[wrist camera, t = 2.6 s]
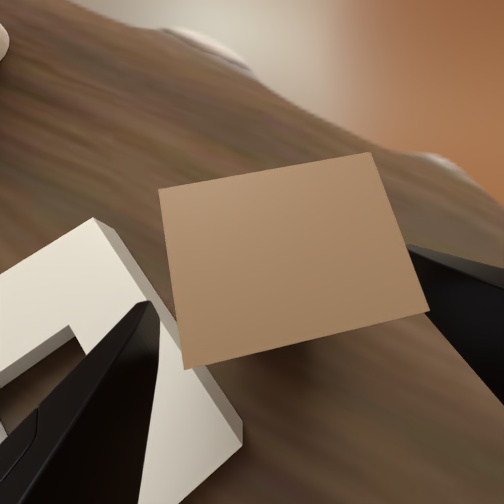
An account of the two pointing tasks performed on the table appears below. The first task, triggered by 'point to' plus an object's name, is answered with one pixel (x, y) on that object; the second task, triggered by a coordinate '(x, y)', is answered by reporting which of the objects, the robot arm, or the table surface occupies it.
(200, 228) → the tan topped cream pillar
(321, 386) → the table surface
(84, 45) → the table surface
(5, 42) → the cup
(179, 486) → the socket plate
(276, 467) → the table surface
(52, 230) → the table surface
